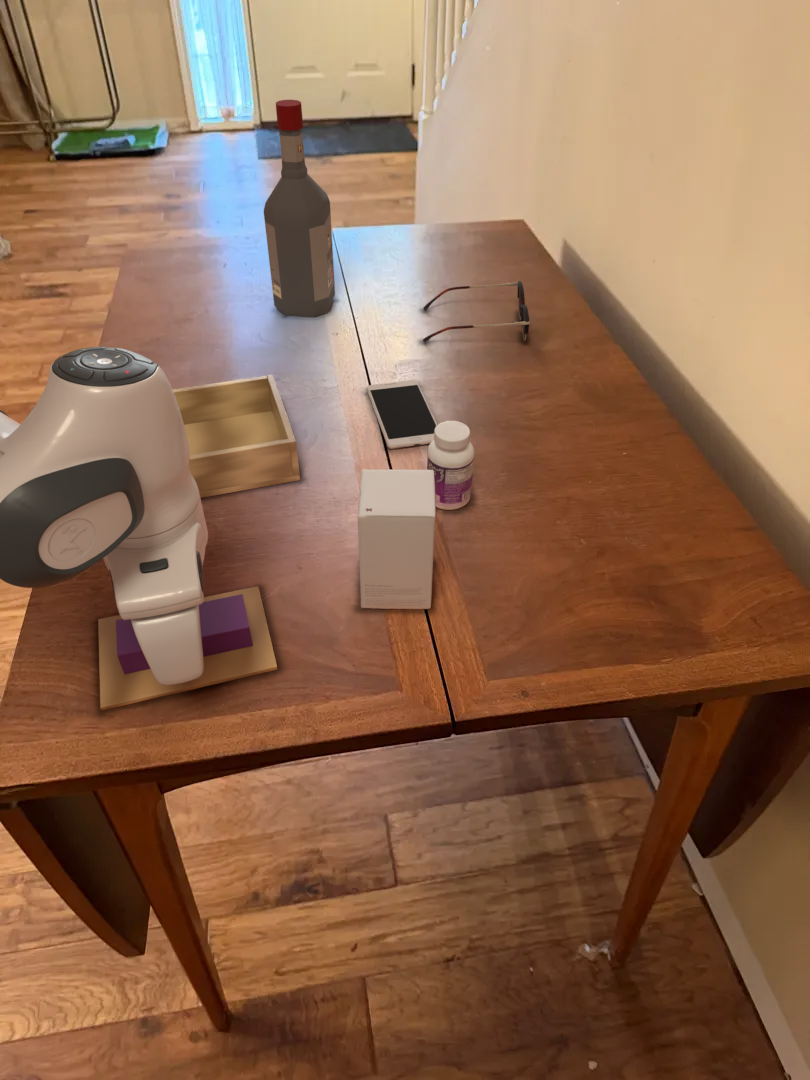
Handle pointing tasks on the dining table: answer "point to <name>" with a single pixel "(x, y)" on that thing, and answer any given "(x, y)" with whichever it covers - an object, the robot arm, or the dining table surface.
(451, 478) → the pill bottle
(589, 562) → the dining table surface
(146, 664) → the purple rectangular block
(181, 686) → the wooden board
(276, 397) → the open wooden box
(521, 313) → the sunglasses
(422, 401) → the smartphone
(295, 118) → the liquor
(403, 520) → the white packaging box
